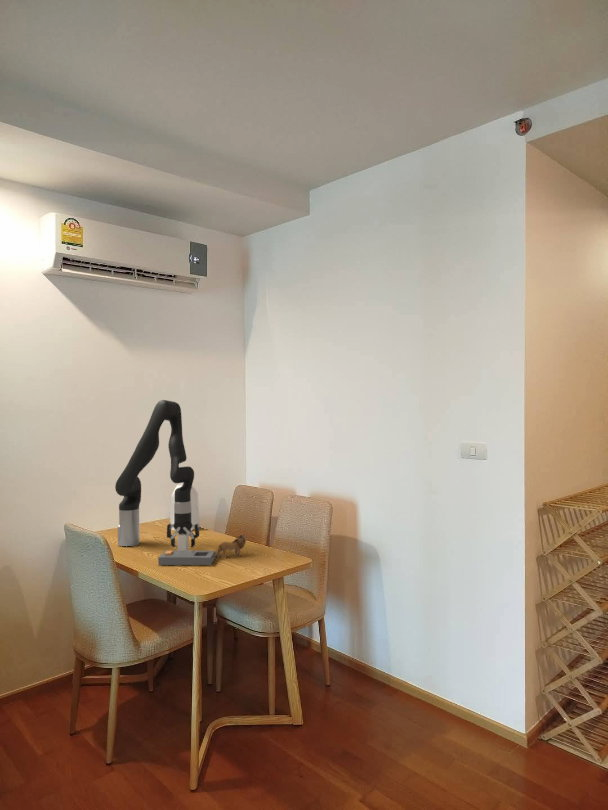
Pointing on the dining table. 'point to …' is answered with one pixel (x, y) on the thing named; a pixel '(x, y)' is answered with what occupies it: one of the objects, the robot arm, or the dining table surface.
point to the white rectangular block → (183, 542)
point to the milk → (193, 506)
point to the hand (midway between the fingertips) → (183, 546)
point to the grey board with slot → (186, 558)
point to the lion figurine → (232, 546)
